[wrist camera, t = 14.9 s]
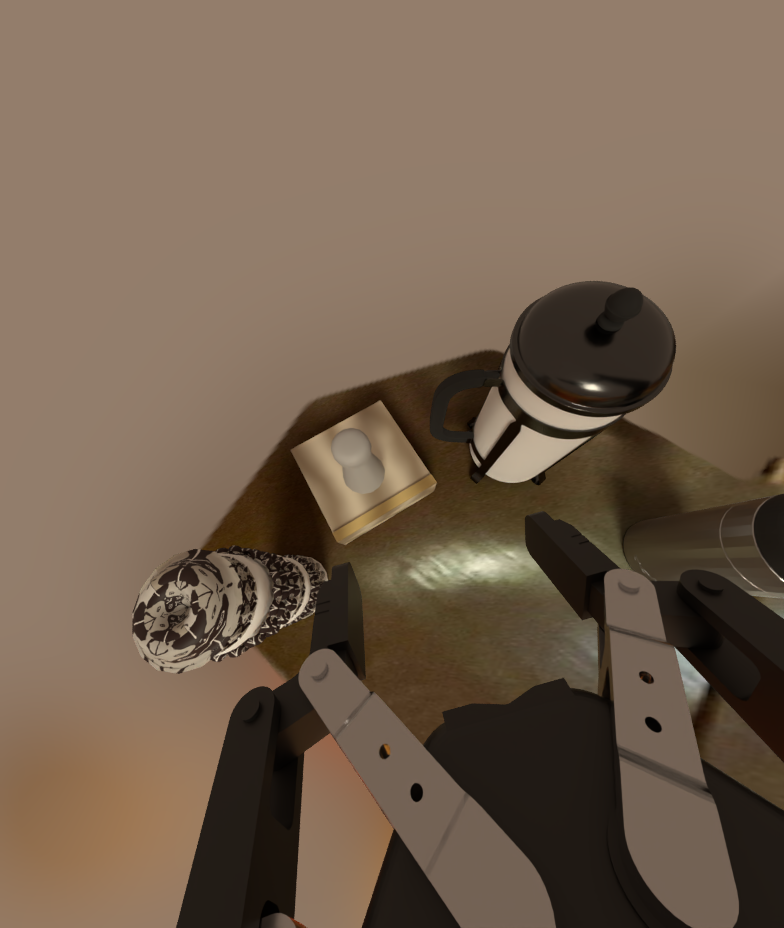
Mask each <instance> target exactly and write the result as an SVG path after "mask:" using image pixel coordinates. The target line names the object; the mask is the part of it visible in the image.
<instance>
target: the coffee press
mask: <svg viewBox="0 0 784 928" xmlns="http://www.w3.org/2000/svg"><path fill="white" fill-rule="evenodd" d="M675 353H676V340H675V335H674V331H673V328H672V326H671V324H670V322H669V320H668V318H667V317H666V315H665V314H664V313H663V311H662V310H661V309H660V308H659V307H658V306H657V305H656V304H655V303H654V302H652V301H651V300H650V299H648V298H647V297H646V296H644V295H643V294H642V293H641V292H640V291H639V290H638V289H635V288H628V287H625V286H622V285H618V284H615V283H610V282H602V281H585V282H578V283H573V284H569V285H565V286H563V287H560V288H558V289H555V290H554V291H552V292H550V293H548V294H547V295H545V296H544V297H542V298H540V299H538V300H536V301H535V302H533V303H532V304H531V305H529V306H528V307H527V308H526V309H525V311H523V313H522V314H521V315H520V317H519V318H518V320H517V322H516V325H515V327H514V329H513V332H512V335H511V339H510V345H509V346H508V348H507V349H506V351H505V354H504V356H503V358H502V360H501V363H500V365H499V368H498V370H487V371H484V370H470V371H464V372H460V373H457V374H454V375H452V376H450V377H448V378H447V379H445V380H444V381H443V382H442V383H441V384H440V385H439V386H438V387H437V389H436V391H435V393H434V397H433V402H432V408H431V416H430V432H431V434H432V436H433V437H435V438H437V439H439V440H442V441H448V442H466V443H470V452H471V455H472V458H473V460H474V462H475V463H476V465H477V466H478V467H479V468H478V470H477V471H476V472H475V473H474V474H473V475H472V476H471V478H470V479H472V480H473V481H474V482H475V483H476V484H477V483H478V482H479V481H480V480H481V479H482V478H483V477H484V476H485V475H488V476H489V477H491V478H493V479H496V480H498V481H502V482H507V483H517V482H523V481H526V480H529V479H531V480H532V482H533V483H535V484H536V485H540V484H541V483H542V482H543V481H544V480H545V479H546V477H545V471H547V470H548V469H549V468H551V467H552V466H554V465H555V464H557V463H558V462H559V461H561V460H562V459H564V458H565V457H567V456H568V455H570V454H571V453H572V452H574V451H575V450H577V449H578V448H580V447H581V446H582V445H584V444H585V443H587V442H588V441H590V440H591V439H593V438H594V437H595V436H597V435H598V434H600V433H601V432H602V431H604V430H605V429H607V428H608V427H610V426H611V425H613V424H614V423H615V422H617V421H618V420H620V419H621V418H622V417H623V416H624V415H625V414H626V413H629V412H632V411H634V410H636V409H638V408H640V407H642V406H644V405H645V404H646V403H648V402H649V401H651V400H652V399H653V398H655V397H656V396H657V395H658V394H659V393H660V392H661V391H662V390H663V388H664V387H665V385H666V384H667V382H668V380H669V378H670V375H671V372H672V366H673V362H674V359H675ZM504 358H505V359H504ZM481 386H485V387H491V389H490V391H489V393H488V396H487V398H486V400H485V402H484V404H483V407H482V409H481V411H480V413H479V414H478V416H477V417H473V418H472V419H471V420H470V421H469V422H468V423H467V424H468V426H469V427H470V428H471V429H472V430H471V431H467V432H460V431H449V430H447V429H445V428H444V427H443V423H444V419H445V415H446V411H447V406H448V403H449V400H450V399H451V397H452V396H453V395H455V394H456V393H458V392H460V391H462V390H465V389H469V388H476V387H481ZM475 422H476V423H475ZM540 472H541V473H540ZM539 473H540V474H539ZM537 474H539V476H538V475H537Z"/></svg>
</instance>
